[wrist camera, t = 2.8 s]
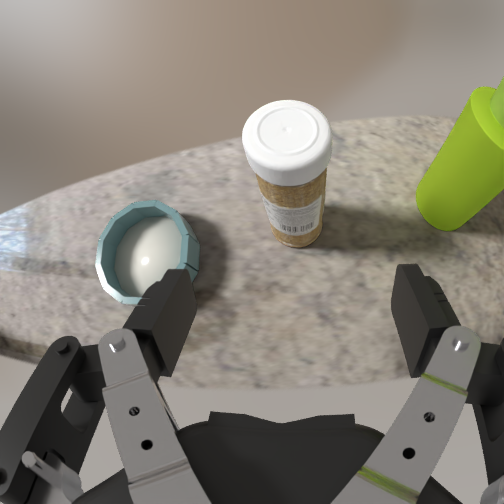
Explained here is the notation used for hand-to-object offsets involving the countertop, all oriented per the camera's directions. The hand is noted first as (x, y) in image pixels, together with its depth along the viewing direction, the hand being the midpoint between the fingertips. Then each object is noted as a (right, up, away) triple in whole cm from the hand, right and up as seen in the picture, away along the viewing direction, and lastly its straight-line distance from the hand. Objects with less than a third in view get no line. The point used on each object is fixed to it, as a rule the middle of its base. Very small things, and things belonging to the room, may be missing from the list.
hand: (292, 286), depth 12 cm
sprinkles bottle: (+2, +4, +16) cm, 16 cm away
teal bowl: (-11, +1, +17) cm, 20 cm away
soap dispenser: (+17, +6, +14) cm, 23 cm away
